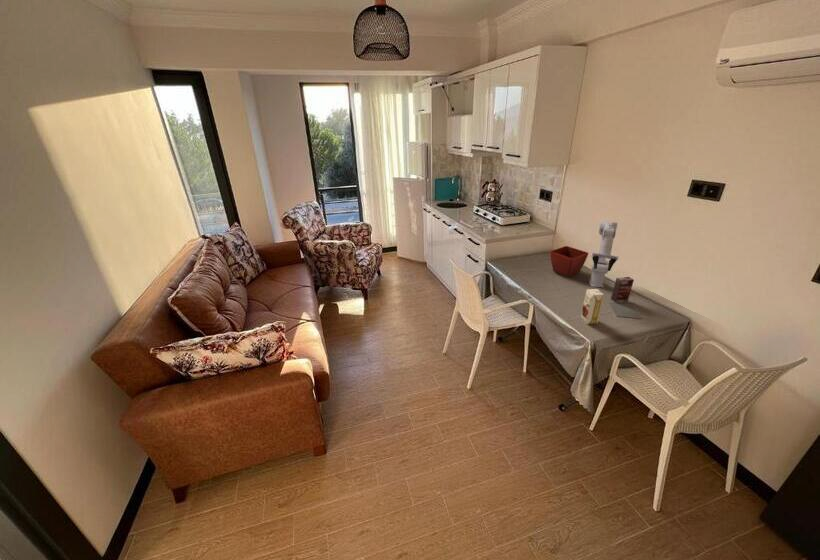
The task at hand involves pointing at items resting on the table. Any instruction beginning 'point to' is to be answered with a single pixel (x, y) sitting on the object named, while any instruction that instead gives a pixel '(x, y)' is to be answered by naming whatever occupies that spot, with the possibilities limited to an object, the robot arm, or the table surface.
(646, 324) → the table surface
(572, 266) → the plant pot
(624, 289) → the supplement box
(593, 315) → the juice carton
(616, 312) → the mat
